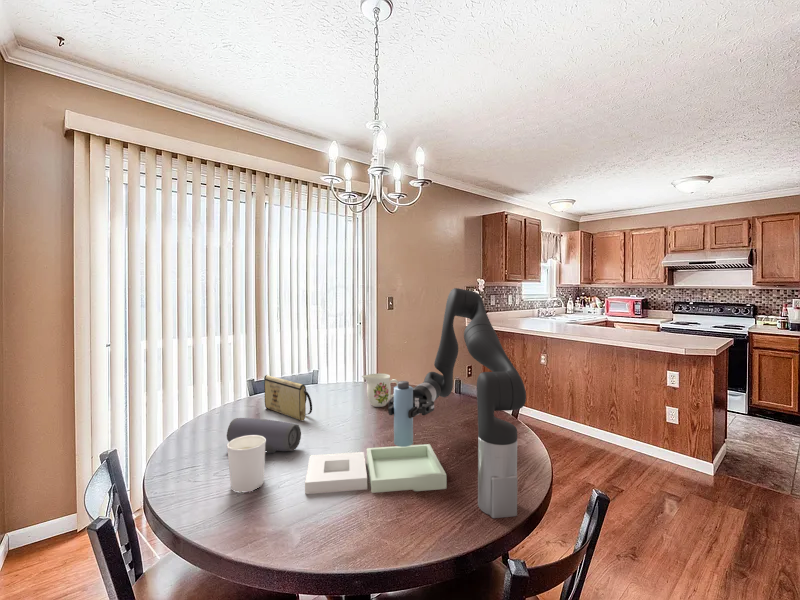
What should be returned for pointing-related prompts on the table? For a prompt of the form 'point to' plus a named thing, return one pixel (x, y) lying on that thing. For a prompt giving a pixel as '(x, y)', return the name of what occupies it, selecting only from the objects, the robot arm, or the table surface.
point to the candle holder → (246, 462)
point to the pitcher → (379, 389)
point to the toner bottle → (403, 414)
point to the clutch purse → (286, 397)
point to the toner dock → (336, 473)
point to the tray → (405, 469)
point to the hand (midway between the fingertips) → (399, 413)
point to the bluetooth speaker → (267, 432)
